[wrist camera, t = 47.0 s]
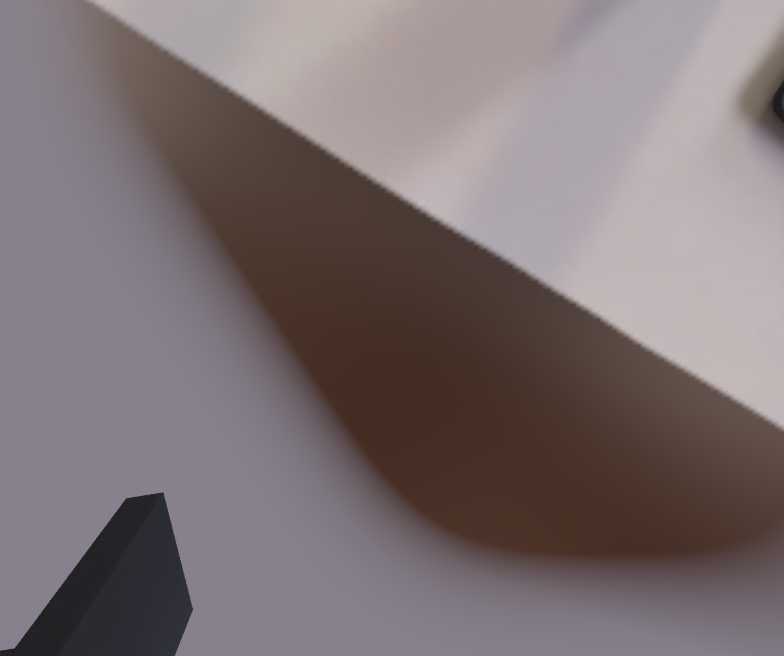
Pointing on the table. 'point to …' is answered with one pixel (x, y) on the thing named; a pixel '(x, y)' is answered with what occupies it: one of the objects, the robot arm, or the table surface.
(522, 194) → the table surface
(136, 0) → the table surface
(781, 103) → the phone
